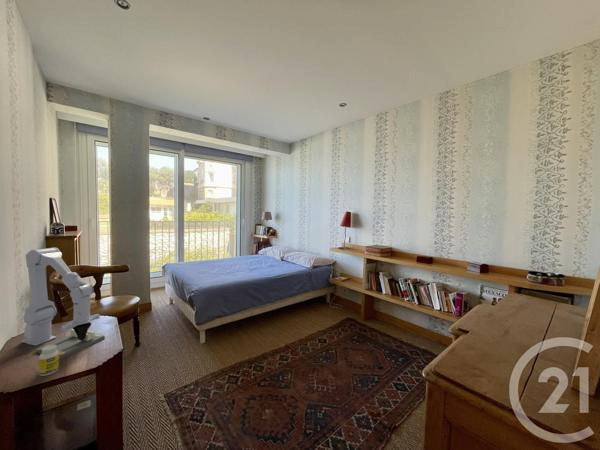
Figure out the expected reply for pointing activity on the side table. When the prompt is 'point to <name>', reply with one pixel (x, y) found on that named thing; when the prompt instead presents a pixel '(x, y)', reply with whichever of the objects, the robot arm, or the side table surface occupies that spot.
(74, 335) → the cream slider knob
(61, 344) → the panel
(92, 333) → the block
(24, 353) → the side table surface
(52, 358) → the supplement bottle
